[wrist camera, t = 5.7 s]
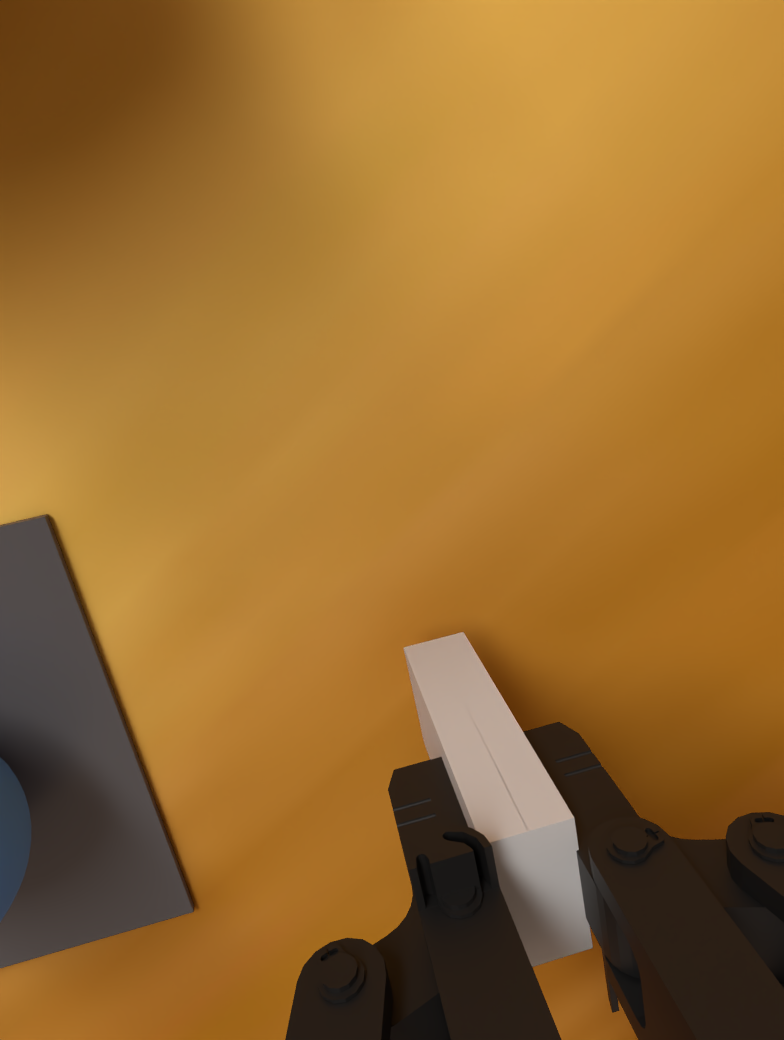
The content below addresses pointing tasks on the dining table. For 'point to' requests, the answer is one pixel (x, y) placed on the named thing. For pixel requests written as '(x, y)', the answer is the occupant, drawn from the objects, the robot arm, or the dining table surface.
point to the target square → (72, 768)
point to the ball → (12, 836)
